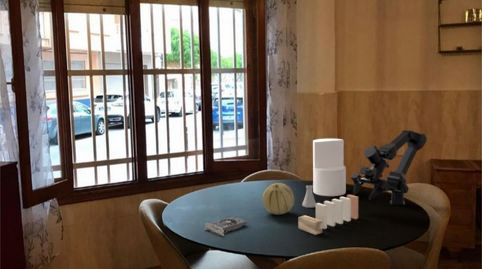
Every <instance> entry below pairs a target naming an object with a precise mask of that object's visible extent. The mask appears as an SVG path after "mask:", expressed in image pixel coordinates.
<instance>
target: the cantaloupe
mask: <svg viewBox="0 0 482 269" xmlns="http://www.w3.org/2000/svg"><path fill="white" fill-rule="evenodd" d="M262 203H263V206H264V207H263V208H265V209H266V210H267V212H268V213H270V214H272V215H277V216H279V215H284V214H286V213H289V211H290V210H291V209H292V208H293V207H294V204H295V195H294V192H293V190H292V188H291V187H290V186H288V185H286V184H285V183H281V182H276V183H272V184H270V185H269V186H268V187H266V189H265V190H264V192H263V194H262Z"/></svg>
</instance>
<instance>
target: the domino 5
mask: <svg viewBox="0 0 482 269" xmlns="http://www.w3.org/2000/svg"><path fill="white" fill-rule="evenodd" d="M346 198H350V199H351V219H354V220H357V219H359V196H356V195H355V196H353V194H346Z"/></svg>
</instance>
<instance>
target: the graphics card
mask: <svg viewBox="0 0 482 269" xmlns="http://www.w3.org/2000/svg"><path fill="white" fill-rule="evenodd" d="M247 224H248V222H247V220H244V219H242V218H238V217H237V216H233V217H232V216H231V217H228V218H225V219H221V220H217V221H213V222H206V223H204V225H205V226H204V230H205V231H210V233H214V234H215V235H217V236H219V235H220V236H222V237H224V236H225V233H228V232H229V231H234V230H237V229H240V228H242V227H244V226H245V225H247Z"/></svg>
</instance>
